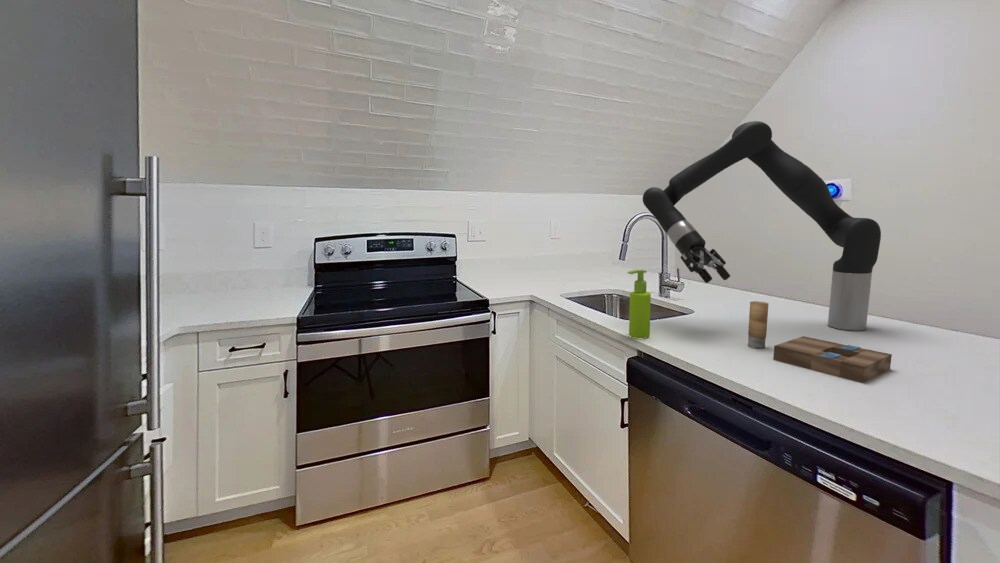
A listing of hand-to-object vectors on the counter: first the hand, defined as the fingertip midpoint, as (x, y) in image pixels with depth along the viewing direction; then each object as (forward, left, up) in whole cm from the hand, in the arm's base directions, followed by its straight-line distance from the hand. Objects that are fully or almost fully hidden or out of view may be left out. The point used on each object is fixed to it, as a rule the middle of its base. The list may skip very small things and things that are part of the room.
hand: (718, 279), depth 124 cm
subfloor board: (0, +29, -17) cm, 33 cm away
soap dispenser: (+18, -13, -17) cm, 28 cm away
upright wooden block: (0, +12, -17) cm, 21 cm away
